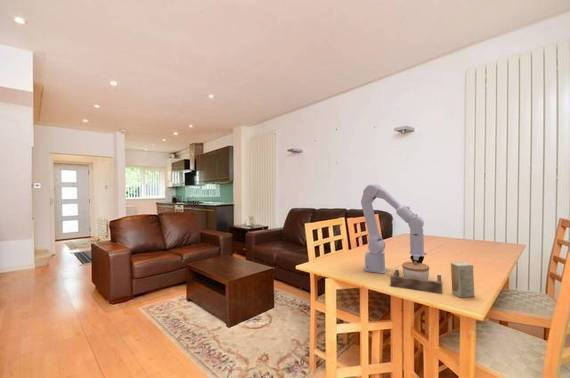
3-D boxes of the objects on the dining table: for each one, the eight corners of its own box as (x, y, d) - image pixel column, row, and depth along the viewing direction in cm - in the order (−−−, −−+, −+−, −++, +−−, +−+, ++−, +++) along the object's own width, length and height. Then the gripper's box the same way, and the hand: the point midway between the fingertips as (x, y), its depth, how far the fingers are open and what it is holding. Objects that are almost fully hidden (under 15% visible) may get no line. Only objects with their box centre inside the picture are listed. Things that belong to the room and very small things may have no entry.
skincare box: (466, 292, 105) (466, 261, 105) (475, 296, 100) (474, 264, 100) (450, 293, 105) (450, 262, 105) (458, 297, 100) (457, 265, 100)
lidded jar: (427, 289, 109) (426, 266, 109) (400, 284, 115) (399, 262, 115) (431, 281, 118) (430, 260, 118) (405, 277, 124) (405, 257, 124)
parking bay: (390, 285, 114) (390, 276, 114) (395, 274, 128) (395, 266, 128) (441, 293, 104) (441, 283, 104) (441, 280, 118) (441, 271, 118)
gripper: (425, 246, 116) (426, 277, 116) (427, 240, 128) (427, 268, 128) (408, 245, 119) (408, 275, 119) (411, 239, 132) (411, 266, 132)
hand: (417, 271), depth 124 cm, fingers closed
